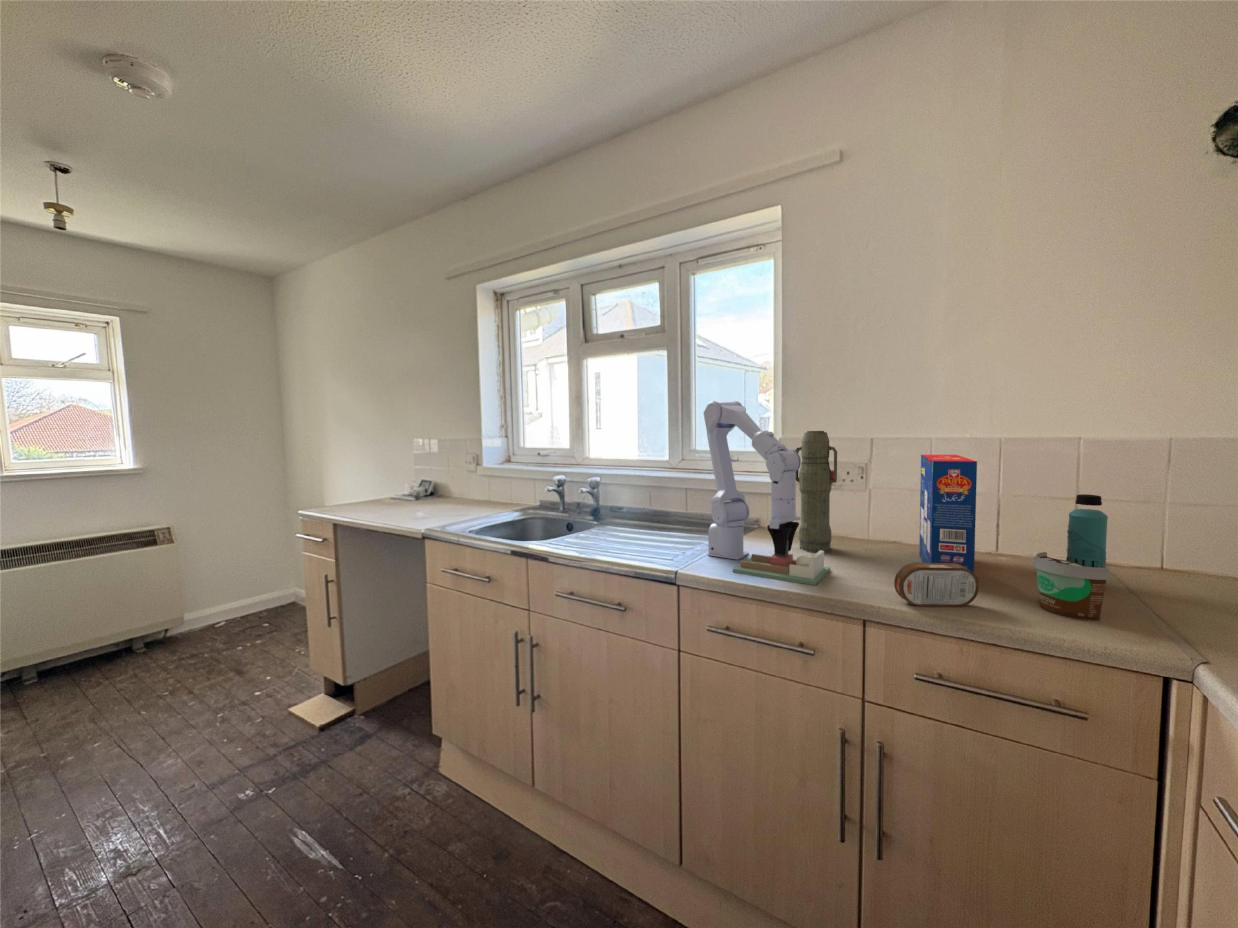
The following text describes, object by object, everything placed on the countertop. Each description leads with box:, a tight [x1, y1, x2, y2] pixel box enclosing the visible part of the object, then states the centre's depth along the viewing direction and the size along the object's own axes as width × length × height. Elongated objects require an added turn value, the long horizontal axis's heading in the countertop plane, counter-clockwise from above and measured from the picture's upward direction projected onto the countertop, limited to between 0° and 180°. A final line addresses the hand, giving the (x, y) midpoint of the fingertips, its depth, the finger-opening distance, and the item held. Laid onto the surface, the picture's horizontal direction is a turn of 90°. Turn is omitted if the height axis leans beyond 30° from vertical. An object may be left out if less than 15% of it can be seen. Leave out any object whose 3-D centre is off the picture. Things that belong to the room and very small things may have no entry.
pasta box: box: [918, 454, 978, 574], centre depth 119 cm, size 28×8×28 cm, turn 153°
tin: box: [893, 562, 980, 608], centre depth 96 cm, size 15×3×8 cm, turn 84°
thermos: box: [794, 430, 838, 553], centre depth 142 cm, size 9×12×35 cm
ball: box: [795, 554, 811, 567], centre depth 118 cm, size 4×4×4 cm
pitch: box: [732, 553, 831, 586], centre depth 121 cm, size 20×14×2 cm
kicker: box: [770, 541, 794, 567], centre depth 121 cm, size 4×6×7 cm
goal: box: [789, 550, 825, 579], centre depth 117 cm, size 6×10×4 cm, turn 144°
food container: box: [1031, 551, 1111, 622], centre depth 91 cm, size 12×6×10 cm, turn 5°
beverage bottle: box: [1065, 493, 1109, 568], centre depth 106 cm, size 6×7×20 cm
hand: (783, 552), depth 121 cm, fingers open, 4 cm apart
